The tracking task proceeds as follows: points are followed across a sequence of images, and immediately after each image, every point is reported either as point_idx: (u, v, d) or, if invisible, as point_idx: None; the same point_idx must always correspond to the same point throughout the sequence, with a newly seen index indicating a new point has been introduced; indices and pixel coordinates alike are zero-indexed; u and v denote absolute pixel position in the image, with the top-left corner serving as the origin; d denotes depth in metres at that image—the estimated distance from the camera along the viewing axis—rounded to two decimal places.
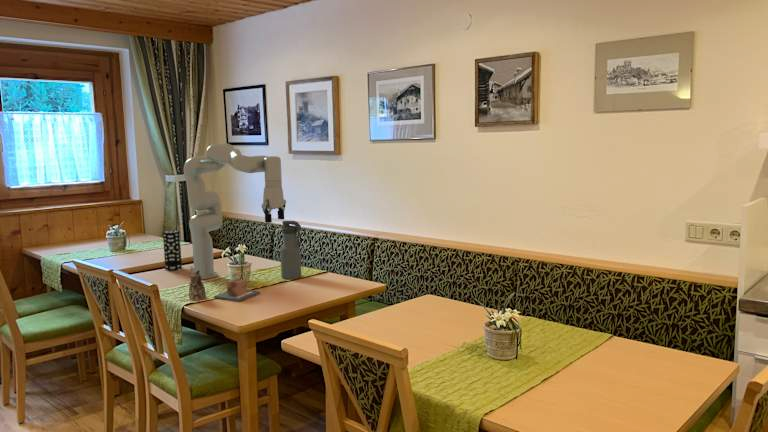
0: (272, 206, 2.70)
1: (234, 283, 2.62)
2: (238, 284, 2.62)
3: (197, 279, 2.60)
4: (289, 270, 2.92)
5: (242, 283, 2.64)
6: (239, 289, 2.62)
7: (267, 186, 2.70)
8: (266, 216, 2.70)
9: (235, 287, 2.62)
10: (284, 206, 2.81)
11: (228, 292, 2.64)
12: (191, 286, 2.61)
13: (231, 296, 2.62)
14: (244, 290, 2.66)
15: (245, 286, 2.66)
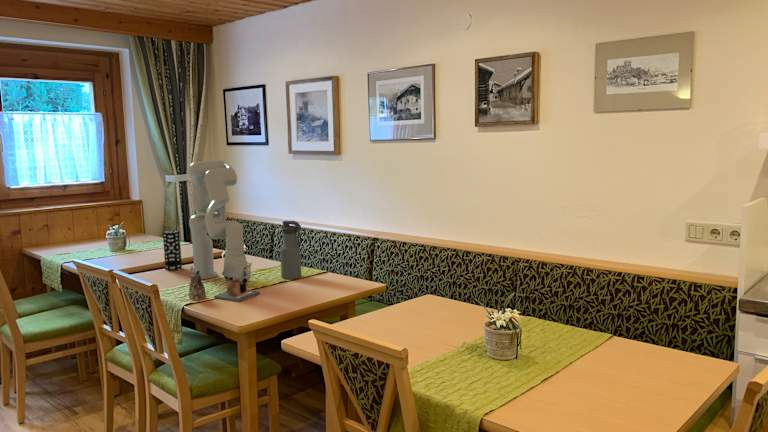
0: None
1: (234, 283, 2.62)
2: (238, 284, 2.62)
3: (197, 279, 2.60)
4: (289, 270, 2.92)
5: None
6: (239, 289, 2.62)
7: (240, 254, 2.61)
8: (244, 286, 2.63)
9: (235, 287, 2.62)
10: None
11: (228, 292, 2.64)
12: (191, 286, 2.61)
13: (231, 296, 2.62)
14: None
15: None
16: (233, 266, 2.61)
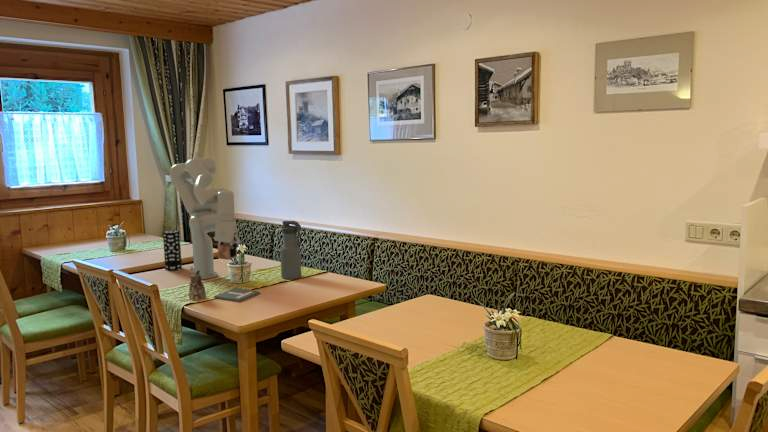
0: None
1: (224, 247, 2.76)
2: (228, 248, 2.76)
3: (197, 279, 2.60)
4: (289, 270, 2.92)
5: None
6: (229, 253, 2.76)
7: (231, 220, 2.75)
8: (234, 250, 2.77)
9: (225, 251, 2.76)
10: None
11: (219, 256, 2.78)
12: (191, 286, 2.61)
13: (231, 296, 2.62)
14: None
15: None
16: (224, 231, 2.75)
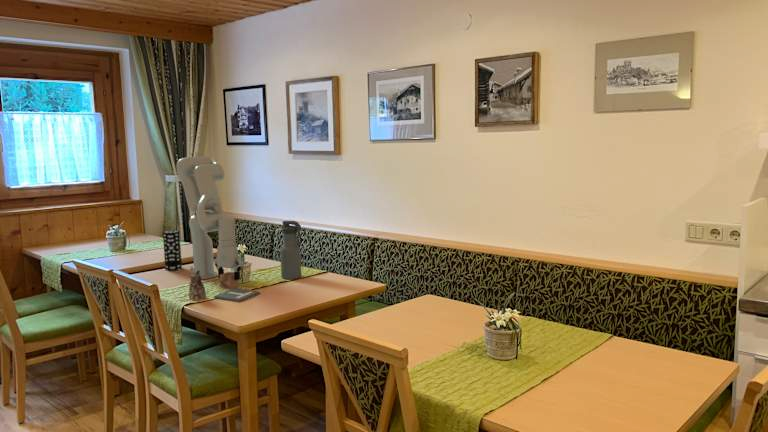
0: None
1: (226, 276, 2.78)
2: (230, 277, 2.78)
3: (197, 279, 2.60)
4: (289, 270, 2.92)
5: None
6: (231, 282, 2.79)
7: (232, 245, 2.77)
8: (238, 274, 2.78)
9: (227, 280, 2.78)
10: None
11: (221, 285, 2.81)
12: (191, 286, 2.61)
13: (231, 296, 2.62)
14: (236, 283, 2.82)
15: None
16: (225, 256, 2.77)
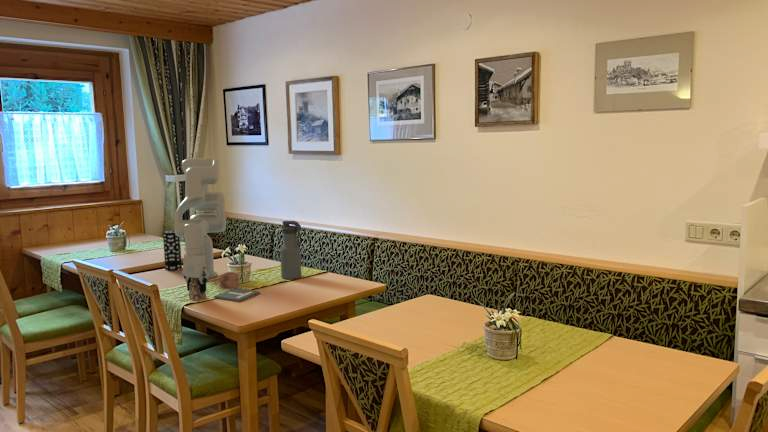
0: None
1: (226, 276, 2.78)
2: (230, 277, 2.78)
3: (197, 279, 2.60)
4: (289, 270, 2.92)
5: (234, 276, 2.80)
6: (231, 282, 2.79)
7: (199, 254, 2.58)
8: (204, 286, 2.61)
9: (227, 280, 2.78)
10: None
11: (221, 285, 2.81)
12: (191, 286, 2.61)
13: (231, 296, 2.62)
14: (236, 283, 2.82)
15: (237, 279, 2.82)
16: (192, 266, 2.58)
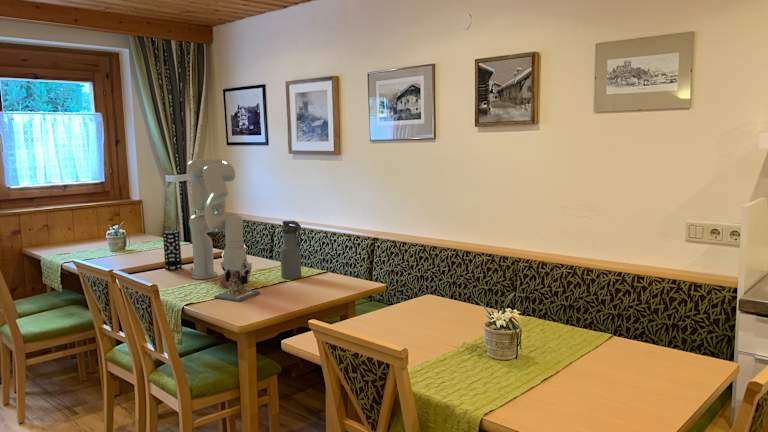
0: None
1: None
2: None
3: (237, 275, 2.63)
4: (289, 270, 2.92)
5: None
6: None
7: (240, 247, 2.61)
8: (246, 277, 2.62)
9: None
10: None
11: (221, 285, 2.81)
12: (231, 282, 2.63)
13: (231, 296, 2.62)
14: None
15: None
16: (233, 258, 2.61)
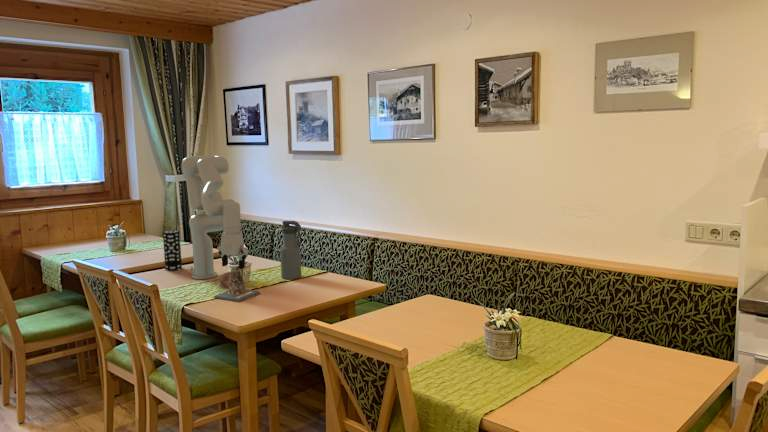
0: None
1: (226, 276, 2.78)
2: (230, 277, 2.78)
3: (237, 274, 2.63)
4: (289, 270, 2.92)
5: None
6: None
7: (237, 232, 2.65)
8: (243, 262, 2.67)
9: (227, 280, 2.78)
10: None
11: (221, 285, 2.81)
12: (231, 281, 2.63)
13: (231, 296, 2.62)
14: None
15: None
16: (230, 244, 2.66)
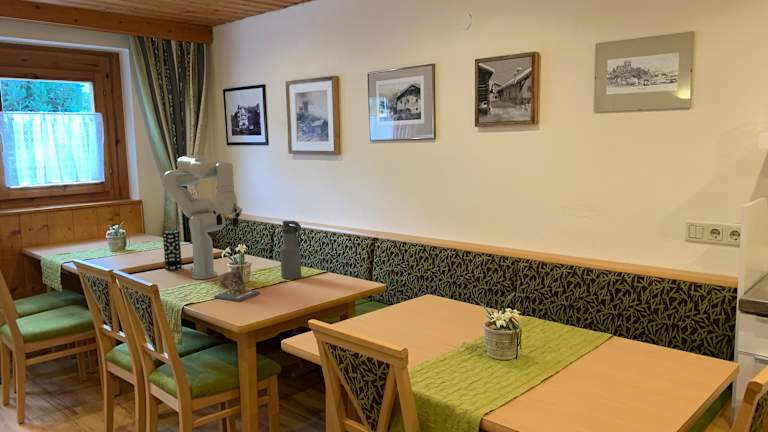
0: None
1: (226, 276, 2.78)
2: (230, 277, 2.78)
3: (238, 274, 2.63)
4: (289, 270, 2.92)
5: None
6: None
7: (231, 191, 2.77)
8: (236, 220, 2.78)
9: (227, 280, 2.78)
10: None
11: (221, 285, 2.81)
12: (232, 281, 2.63)
13: (231, 296, 2.62)
14: None
15: None
16: (223, 202, 2.77)
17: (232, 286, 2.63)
